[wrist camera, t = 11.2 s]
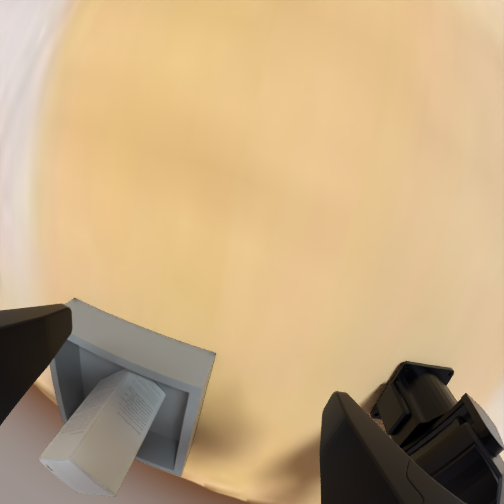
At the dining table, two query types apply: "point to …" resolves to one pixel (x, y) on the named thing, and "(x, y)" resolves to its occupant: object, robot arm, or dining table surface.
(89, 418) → the skincare box
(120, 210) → the dining table surface
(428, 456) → the robot arm
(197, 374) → the box
